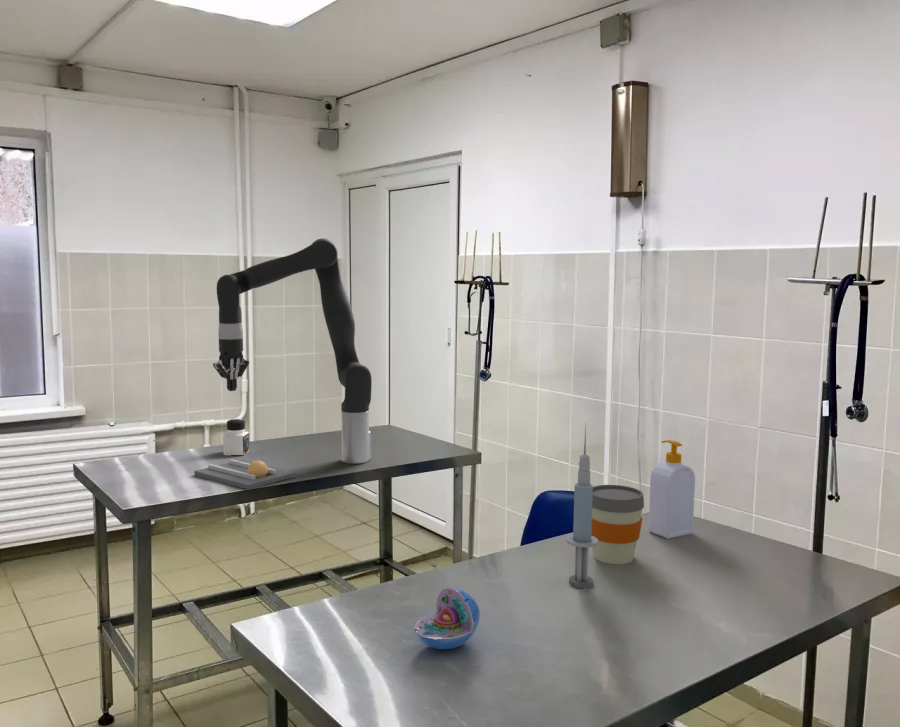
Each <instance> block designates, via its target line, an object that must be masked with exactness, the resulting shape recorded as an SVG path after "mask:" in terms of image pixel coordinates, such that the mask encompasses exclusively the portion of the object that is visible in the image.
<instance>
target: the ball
mask: <svg viewBox="0 0 900 727" xmlns="http://www.w3.org/2000/svg"><path fill="white" fill-rule="evenodd" d="M251 462H252V463H251V464H250V465H249V467H248V473H249V474H253V475H256V479H258V478H262V477H265V476H266V475H267V472H268V467H267V466H268V465H267V464H266V462H264V461H262V460H259V459H257V460H253V461H251Z"/></svg>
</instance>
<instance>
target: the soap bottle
mask: <svg viewBox="0 0 900 727" xmlns="http://www.w3.org/2000/svg"><path fill="white" fill-rule="evenodd" d="M663 443H664V444H665V443H669V444H670V446H671V447H670V448H671V449H670V451H668V452H666V453H665V460H663V461H660V462H658V463H657V464H655V466H654V467H653V469H652V471H651V474H650V482H649V484H650V485H649V505H648V507H649V508H648V532H650V533H652V534H655V535H657V536H660V537H662V538H665V539H667V540H670V539H673V538H678V537H682V536H687V535H690V534H692V533H693V530H694V509H695V491H696V490H695V487H696V476H695V472H694V470H693V469H692V467H690V466H687V465H685V464H683V462H682V453H680V452H678V448H679V447H682V446H683V444H682V443H681V442H679V441H677V440H671V439H667V440H666V439H665V440H662V441H661V444H663Z"/></svg>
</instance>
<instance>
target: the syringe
mask: <svg viewBox="0 0 900 727" xmlns="http://www.w3.org/2000/svg"><path fill="white" fill-rule="evenodd" d="M586 439H587V423H585V427H584V444H583V454H581V455H579V461H578V470H577V483H575V484H574V489H573V490H574V491H573V492H574V495H573V502H574V503H573V526H572V527H573V528H572V531H573V532H572V534H570V535H568V536H566V537H565V540H566V543H567V544H568V545H570V546H572V547H575V555H574V556H575V558H574V559H575V560H574V561H575V562H574V566H575V567H574V574H573V575H571V576H570V577H569V578H568V579H569V580H568V583H569V585H570V586H571V587H574V588H577V589H579V588H580V589H588V588H591V587H593V585H594V583H593V582H594V580H593V578H592V577H591V576H589V575H588V572H589V570H588V569H589V568H588V567H589V548H592V547H594V546H596V545H597V544H598V539H597V538H596V537H594V536H591V529H592V497H593V487H594V485H593V484H591V470H590V468H591V467H590V466H591V462H590V457H591V456H590V455H588V454H586V452H587V449H586V448H587V447H586V446H587V444H586V442H587V440H586Z"/></svg>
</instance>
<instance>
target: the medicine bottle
mask: <svg viewBox="0 0 900 727" xmlns="http://www.w3.org/2000/svg"><path fill="white" fill-rule="evenodd" d="M245 423H246V422H245V420H244V419H241V418H232V419H228V420H227V422H226V433H224V434H223V436H222V447H223V448H222V449H223V456H231V455H244V454H245V453H246V454H247V453H249V452H250V432H249V431H246V424H245ZM246 454H245V455H246ZM245 455H244V456H245Z"/></svg>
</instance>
